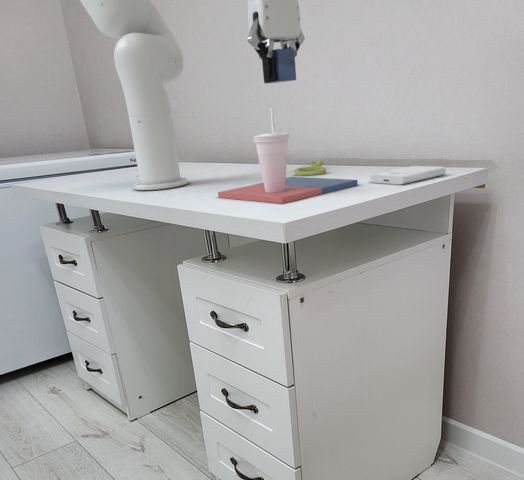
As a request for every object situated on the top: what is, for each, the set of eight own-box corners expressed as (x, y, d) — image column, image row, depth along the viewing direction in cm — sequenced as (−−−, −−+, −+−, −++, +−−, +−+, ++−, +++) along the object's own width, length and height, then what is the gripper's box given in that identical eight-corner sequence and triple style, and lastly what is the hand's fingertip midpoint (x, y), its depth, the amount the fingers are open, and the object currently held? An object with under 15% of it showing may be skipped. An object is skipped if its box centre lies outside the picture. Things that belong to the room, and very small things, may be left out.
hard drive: (445, 175, 105) (402, 185, 99) (411, 173, 111) (369, 182, 105) (445, 166, 104) (403, 175, 98) (411, 165, 110) (369, 173, 104)
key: (323, 168, 133) (323, 159, 132) (326, 174, 122) (326, 164, 121) (294, 170, 134) (294, 161, 133) (294, 177, 123) (294, 167, 122)
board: (218, 197, 104) (217, 192, 104) (292, 181, 116) (291, 176, 115) (282, 203, 92) (281, 197, 91) (357, 185, 103) (357, 179, 103)
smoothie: (281, 193, 95) (275, 107, 89) (251, 193, 98) (243, 110, 92) (298, 187, 100) (294, 105, 94) (269, 187, 103) (262, 108, 97)
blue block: (264, 83, 107) (261, 52, 105) (280, 82, 110) (278, 51, 107) (280, 81, 104) (277, 48, 102) (296, 80, 106) (294, 48, 104)
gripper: (289, -22, 107) (296, 81, 114) (223, -27, 97) (235, 85, 104) (317, -31, 102) (322, 76, 109) (250, -38, 92) (261, 81, 99)
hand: (280, 79), depth 107 cm, fingers closed on blue block, 4 cm apart
